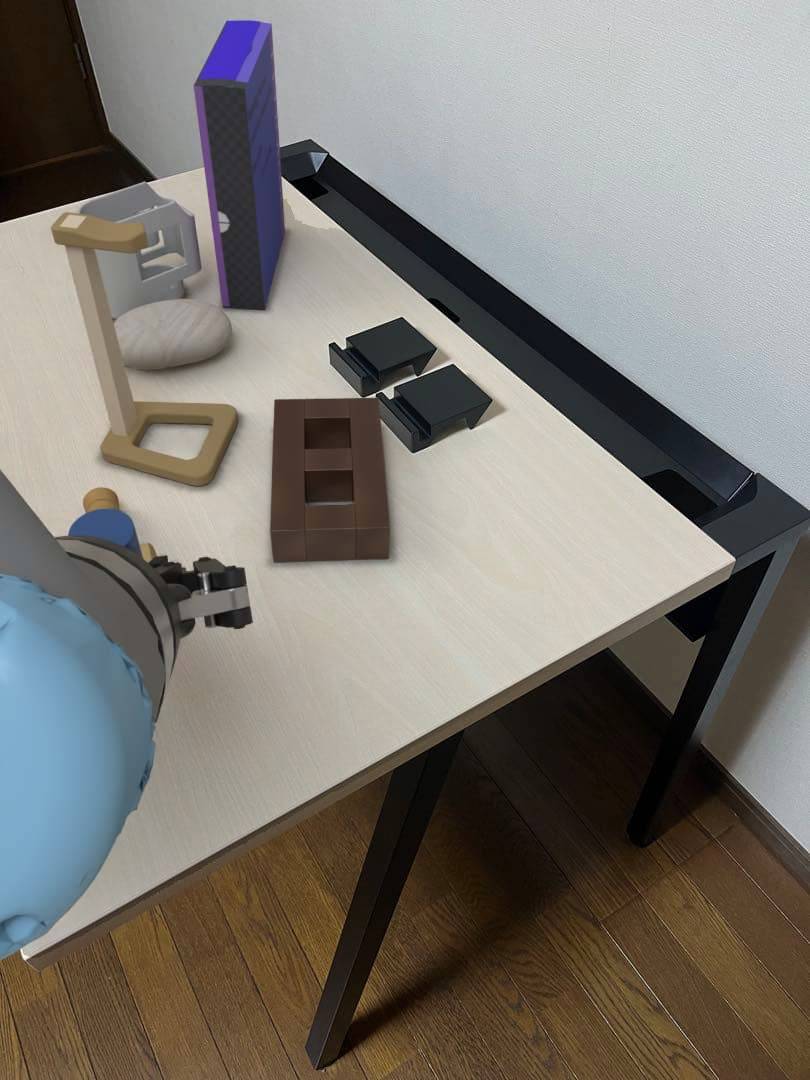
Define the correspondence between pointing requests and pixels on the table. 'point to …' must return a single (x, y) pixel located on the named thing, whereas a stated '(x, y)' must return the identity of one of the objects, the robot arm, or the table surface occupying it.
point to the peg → (108, 528)
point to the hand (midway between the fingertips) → (131, 583)
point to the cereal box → (242, 160)
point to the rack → (328, 481)
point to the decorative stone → (171, 333)
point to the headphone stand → (123, 412)
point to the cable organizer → (124, 270)
